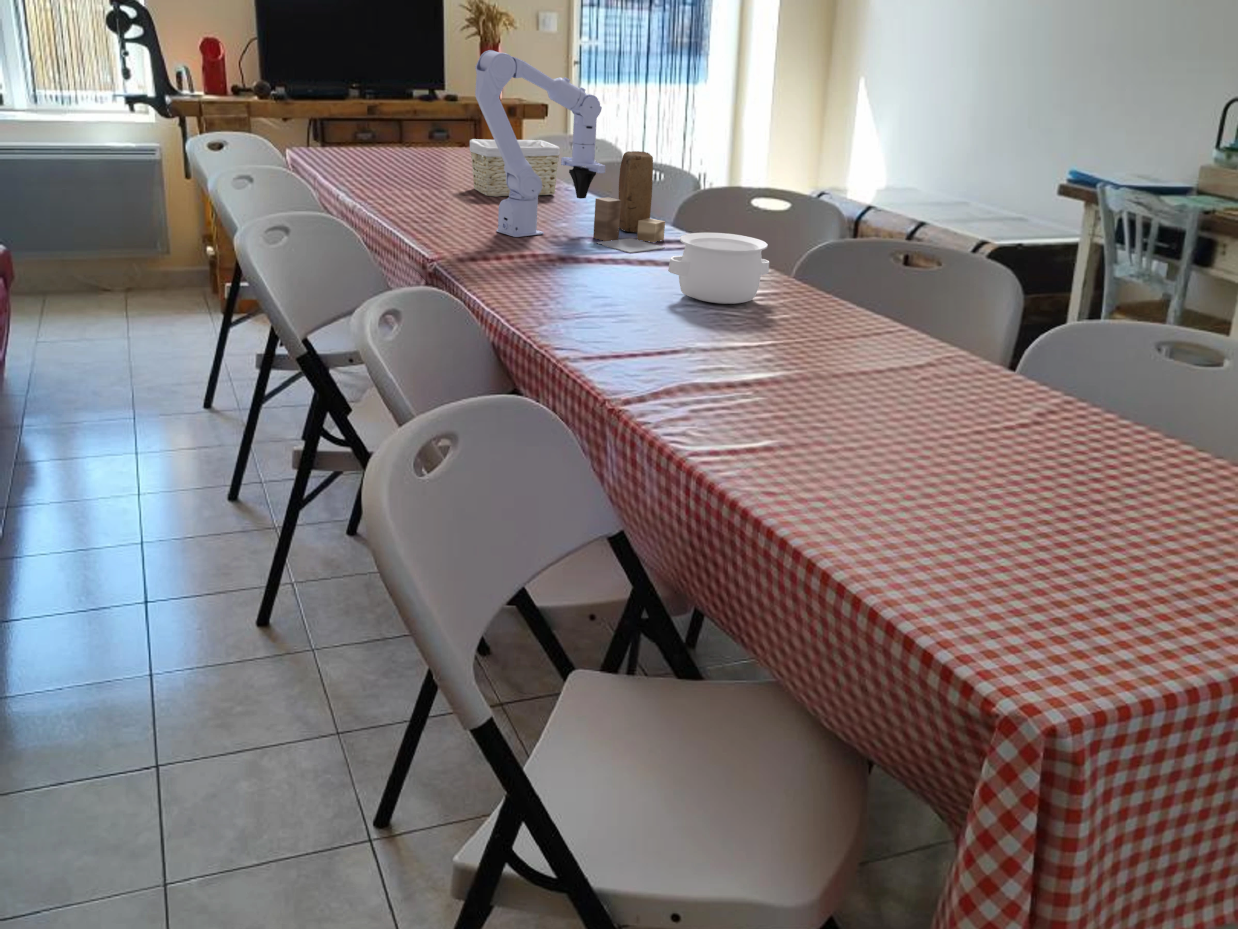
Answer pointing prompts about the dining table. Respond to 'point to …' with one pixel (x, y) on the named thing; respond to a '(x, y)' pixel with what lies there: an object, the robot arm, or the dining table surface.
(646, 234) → the oak cube
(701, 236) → the pot
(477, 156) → the storage basket
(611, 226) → the walnut pillar
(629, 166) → the block
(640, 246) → the mat
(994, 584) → the dining table surface
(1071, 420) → the dining table surface
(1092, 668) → the dining table surface
